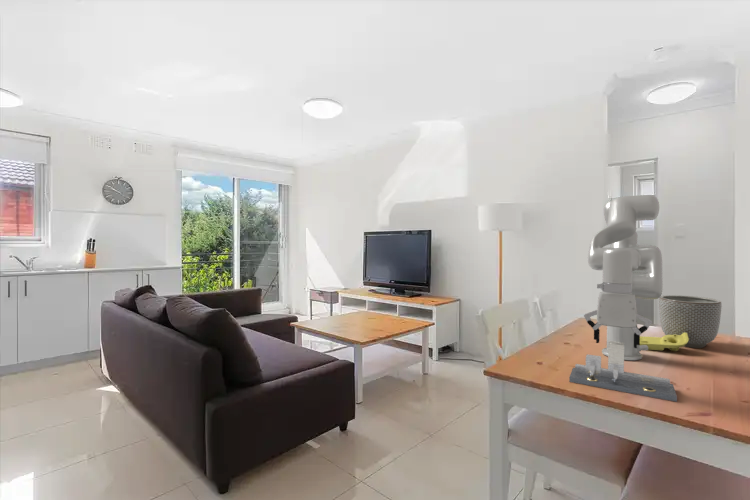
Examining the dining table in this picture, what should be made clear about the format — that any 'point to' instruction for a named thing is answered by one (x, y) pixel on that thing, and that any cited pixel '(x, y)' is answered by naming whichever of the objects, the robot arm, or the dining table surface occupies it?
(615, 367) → the grey block with peg
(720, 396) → the dining table surface
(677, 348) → the plastic component
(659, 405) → the dining table surface
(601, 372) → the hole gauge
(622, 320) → the robot arm
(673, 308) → the planter
